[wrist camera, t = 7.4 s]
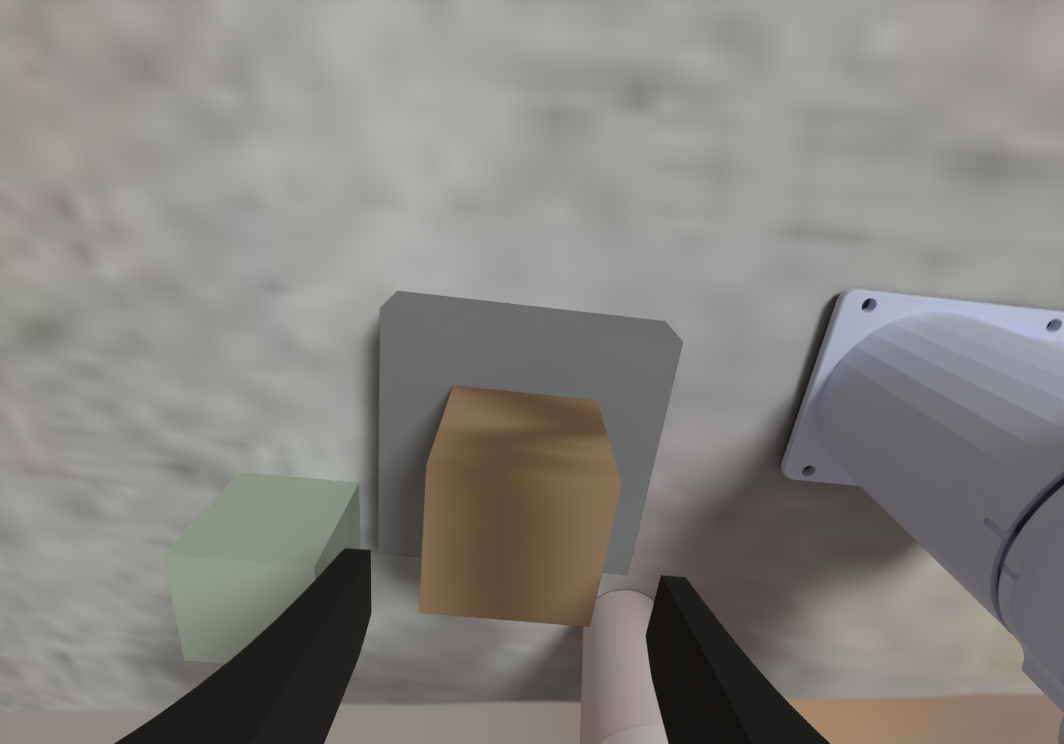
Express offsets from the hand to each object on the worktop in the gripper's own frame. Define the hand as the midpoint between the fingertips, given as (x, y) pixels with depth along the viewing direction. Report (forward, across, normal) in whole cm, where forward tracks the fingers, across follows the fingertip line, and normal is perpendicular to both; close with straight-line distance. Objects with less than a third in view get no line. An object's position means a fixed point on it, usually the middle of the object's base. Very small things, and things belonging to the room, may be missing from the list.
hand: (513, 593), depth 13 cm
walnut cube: (+6, 0, 0) cm, 6 cm away
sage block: (+9, +9, +6) cm, 14 cm away
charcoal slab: (+9, 0, 0) cm, 9 cm away
